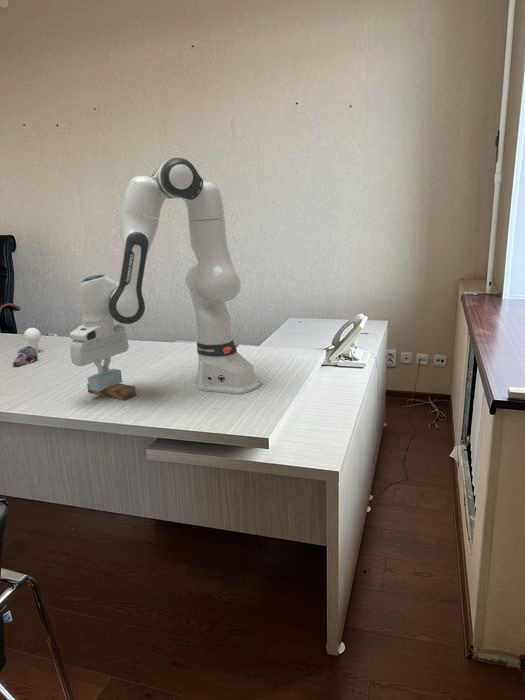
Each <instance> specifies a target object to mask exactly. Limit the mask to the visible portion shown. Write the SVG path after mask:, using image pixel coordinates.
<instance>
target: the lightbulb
mask: <svg viewBox="0 0 525 700" xmlns="http://www.w3.org/2000/svg"><path fill="white" fill-rule="evenodd" d="M41 337H42V335H41V331H40V330H39V329H38V328H35V327H29V328H27V329H25V331H24V333H23V338H24V340H25V341H26V342H27V343H28V346H32V347H33V348H35V350H36V352H37V354H38V353H39V348H38V347H39V342H40V340H41Z"/></svg>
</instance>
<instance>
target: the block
mask: <svg viewBox="0 0 525 700" xmlns="http://www.w3.org/2000/svg"><path fill="white" fill-rule="evenodd" d="M122 382H123V378H122V371H121V369H117V368H109V371H107V372H104V373H102V374H101V373H98V372H97V373H96V374H93V375H90V376H87V384H88V385H89V390H93V391H101V390H103V389H106V388H108V387H111V386H113V385H116V384H118V383H120V384H122Z"/></svg>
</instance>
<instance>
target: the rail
mask: <svg viewBox="0 0 525 700" xmlns="http://www.w3.org/2000/svg"><path fill="white" fill-rule="evenodd" d="M86 385H87V392H90V393H89V394H92V393H94V395H98V396H103V397H107V398H111V399H114V400H115V399H116V400H119V401H120V400H121V401H123V402H124V401H125V402H126V401H127V400H129V399H132V398H135V397H136V396H137V390H136V389H137V388H136V386H134V385H129V384H125V383H118V384H116V385H113V386H111V387H108V388H106V389H103V390H101V391H93V390H89V385H88V383H87V384H86Z"/></svg>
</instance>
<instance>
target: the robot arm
mask: <svg viewBox="0 0 525 700" xmlns="http://www.w3.org/2000/svg"><path fill="white" fill-rule="evenodd" d="M167 199H182V200H183V201H184V203H185V205H186V208H187V216H188V217H187V219H188V227H189V229H188V230H189V238H190V247H191V250H192V251H193V252H194V255H195V258H196V261H197V263H196V264H194V265H192V266H191V267H190V268H189V269H188V270H187V272H186V274H185V284H186V286H187V288H188V290H189V294H190V297H191V302H192V305H193V309H194V313H195V320H196V329H197V330H196V331H197V341H196V350H197V355H198V360H197V361H198V363H197V364H198V365H197V372H196V373H197V374H196V380H195V385H196V386H197V390H199V391H206V392H214V393H226V394H236V395H241V394H247V393H250V392H252V391H255V390H257V389H258V388H259V387H261V386H262V385H263V379H262V378H259V377H256V371H255V368H254V367H255V366H254V365H253V364H252V363H251V362H249V361H248V360H247V359H246V358H245V357H243V355H241V354H240V353H239V352H238V350H237V348H238V347H240V343H239V342H238V343H235V342H234V340H233V338H232V337H233V336H232V319H231V318H232V316H231V315H230V313H229V311H228V309H227V305H226V303H225V302H229V301H232V300H234V299H235V298H236V297H237V295H238V294H239V293H240V290H241V279H240V278H239V276H238V274H237V272H236V271H235V269H234V268H235V267H234V266H233V262H232V258H231V256H230V255H231V254H230V252H229V248H228V243H227V242H228V241H227V233H226V232H227V231H226V222H225V210H224V205H223V199H222V195H221V191H220V189H219V187H218V186H217V185H216V184H214V183H213V182H210V181H204V179H203V178H202V177H201V175H200V174H199V172H198V170H197V169H196V168H195V166H194V164H193V163H192V162H191V161H189V160H188V159H186V158H183V157H173V158H170V159H169V158H168V159H167V160H165V161H164V162H162V163H161V165H160V166H158V168H156V170H155V171H154V173H153V174H152V175H151V176H148V175H137V176H133V178H131V180H129V183H128V185H127V189H126V192H125V194H124V197H123V202H122V207H121V212H120V221H119V223H120V224H119V229H120V230H119V232H120V233H119V234H120V239H121V243H122V250H123V251H122V253H123V256H122V257H123V258H122V264H121V269H120V270H121V272H120V275H119V276H120V277H119V281H116V280H114V279H112V278H110V277H108V276H107V275H105V274H97V275H91V276H88V277H85V278H84V279H83V280H82V281H81V282H80V284H79V303H80V308H81V310H82V320H81V321H82V324H81V325H79V326H78V327H77V328H75V329H74V330H72V331H71V332H70V333H69V339H70V340H72V341H71V342H70V347H69V348H70V358H71V359H70V360H71V363H72V364H73V365H74V366H77V367H85V366H87V365H90V364H94V365H95V367H96V368H97V374H98V373H101V374H102V373H104V372H107V371H109V369H110V367H109V366H110V363H111V361H112V357H113V356H116V355H119V354H123V353H126V352H128V350H129V348H130V347H129V341H128V337H127V336H128V335H127V333H126V328H125V325H131V324H135V323H136V322H138V321H139V320H141V318H142V317H143V316H144V314H145V309H146V303H145V299H144V296H143V293H142V292H143V290H142V289H143V281H144V274H145V268H146V261H147V257H148V254H149V252H150V250H151V246H152V244H153V242H154V239H155V237H156V233H157V230H158V227H159V222H160V221H159V220H160V216H161V210H162V207H163V204H164V202H165V201H166V200H167ZM114 320H115V322H118V323H116V324H114ZM123 324H124V325H123ZM102 363H103V364H102Z"/></svg>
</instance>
